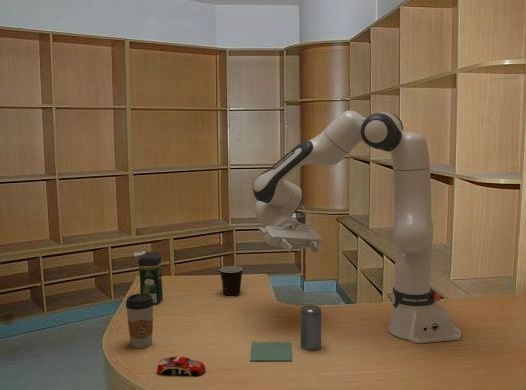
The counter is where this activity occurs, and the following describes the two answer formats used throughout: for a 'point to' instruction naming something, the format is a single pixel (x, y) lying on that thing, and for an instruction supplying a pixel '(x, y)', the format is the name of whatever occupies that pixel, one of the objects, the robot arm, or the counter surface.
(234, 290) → the coffee mug
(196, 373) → the race car
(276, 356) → the mat
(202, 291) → the counter surface
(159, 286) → the coffee jar
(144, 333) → the coffee cup
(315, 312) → the canister
